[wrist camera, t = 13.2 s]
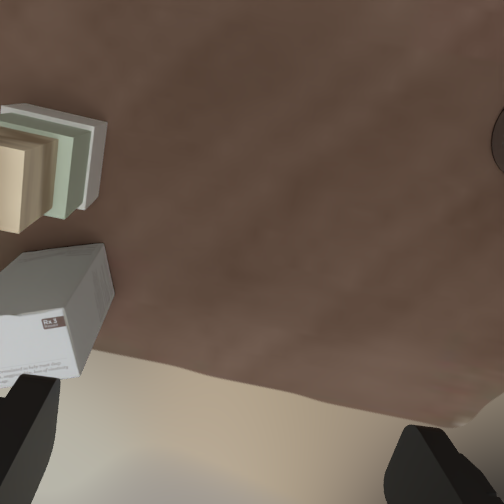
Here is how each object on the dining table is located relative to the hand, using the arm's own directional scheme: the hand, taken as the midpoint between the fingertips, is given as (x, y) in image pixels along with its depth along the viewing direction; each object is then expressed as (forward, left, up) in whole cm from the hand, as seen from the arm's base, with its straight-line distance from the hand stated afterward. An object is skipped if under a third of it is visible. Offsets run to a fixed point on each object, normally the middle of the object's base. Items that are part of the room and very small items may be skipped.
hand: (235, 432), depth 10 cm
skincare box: (+12, +13, -34) cm, 39 cm away
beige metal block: (+14, +1, -24) cm, 28 cm away
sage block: (+14, +1, -29) cm, 32 cm away
